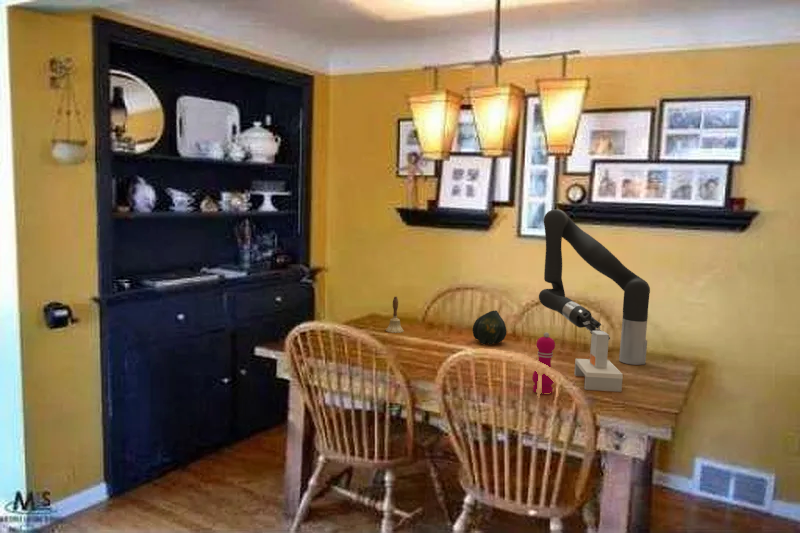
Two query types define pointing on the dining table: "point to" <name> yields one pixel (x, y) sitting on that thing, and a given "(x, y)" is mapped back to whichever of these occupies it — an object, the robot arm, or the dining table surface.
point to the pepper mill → (544, 361)
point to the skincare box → (599, 349)
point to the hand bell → (395, 320)
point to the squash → (489, 328)
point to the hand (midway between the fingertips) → (603, 332)
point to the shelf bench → (599, 376)
